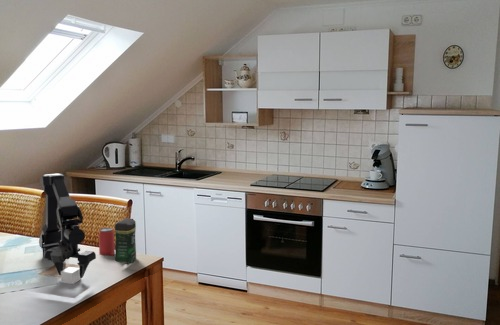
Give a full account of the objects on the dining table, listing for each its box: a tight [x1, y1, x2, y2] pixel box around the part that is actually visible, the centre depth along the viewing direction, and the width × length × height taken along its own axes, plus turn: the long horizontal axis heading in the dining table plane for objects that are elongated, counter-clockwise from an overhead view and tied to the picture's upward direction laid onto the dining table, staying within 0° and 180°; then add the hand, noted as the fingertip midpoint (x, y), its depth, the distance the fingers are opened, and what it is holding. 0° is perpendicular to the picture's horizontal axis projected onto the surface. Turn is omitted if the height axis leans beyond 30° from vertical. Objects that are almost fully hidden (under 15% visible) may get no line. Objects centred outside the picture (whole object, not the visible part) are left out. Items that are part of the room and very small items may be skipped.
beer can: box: [98, 227, 116, 257], centre depth 204 cm, size 7×7×12 cm
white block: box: [60, 267, 82, 285], centre depth 172 cm, size 5×5×6 cm
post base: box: [38, 261, 79, 278], centre depth 183 cm, size 13×13×4 cm
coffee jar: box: [114, 217, 137, 265], centre depth 196 cm, size 10×8×19 cm
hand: (71, 276), depth 172 cm, fingers open, 9 cm apart
